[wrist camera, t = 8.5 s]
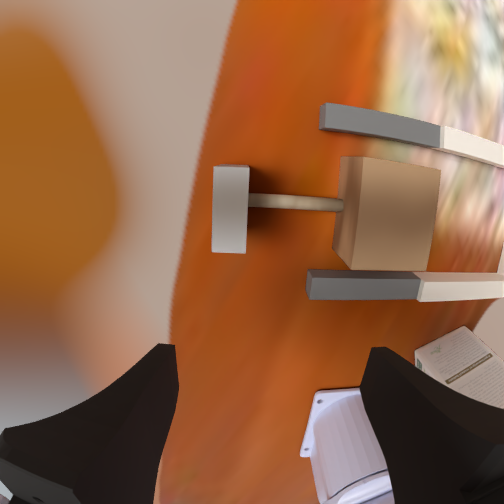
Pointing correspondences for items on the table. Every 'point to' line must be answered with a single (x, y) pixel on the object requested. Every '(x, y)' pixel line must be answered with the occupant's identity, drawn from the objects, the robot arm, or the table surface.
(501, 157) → the frame
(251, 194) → the lopsided dumbbell
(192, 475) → the table surface
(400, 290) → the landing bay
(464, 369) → the syrup box
